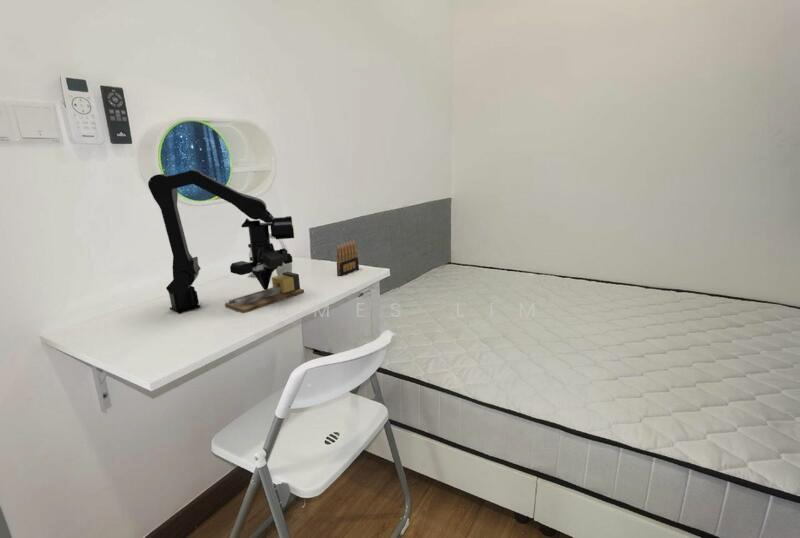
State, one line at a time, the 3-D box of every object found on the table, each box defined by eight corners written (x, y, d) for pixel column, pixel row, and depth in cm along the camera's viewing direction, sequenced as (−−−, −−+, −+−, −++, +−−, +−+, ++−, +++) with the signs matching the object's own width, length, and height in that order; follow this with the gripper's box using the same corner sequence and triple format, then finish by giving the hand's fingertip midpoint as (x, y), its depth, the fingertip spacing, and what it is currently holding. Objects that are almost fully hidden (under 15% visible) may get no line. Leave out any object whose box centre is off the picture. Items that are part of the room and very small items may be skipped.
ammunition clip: (355, 268, 163) (353, 238, 160) (359, 269, 162) (357, 239, 158) (337, 275, 154) (334, 244, 151) (340, 276, 153) (338, 244, 150)
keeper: (284, 293, 133) (282, 280, 131) (273, 289, 136) (271, 277, 135) (294, 289, 135) (293, 277, 134) (283, 286, 139) (282, 274, 138)
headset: (297, 279, 151) (292, 231, 146) (282, 285, 146) (276, 235, 141) (262, 272, 162) (256, 227, 157) (246, 277, 157) (240, 230, 152)
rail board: (243, 313, 120) (240, 293, 118) (225, 306, 126) (222, 287, 124) (304, 292, 136) (302, 275, 135) (285, 287, 142) (283, 270, 141)
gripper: (247, 249, 115) (253, 302, 119) (301, 238, 129) (305, 286, 133) (226, 244, 121) (232, 295, 125) (279, 234, 135) (284, 280, 140)
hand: (265, 289), depth 131 cm, fingers closed
